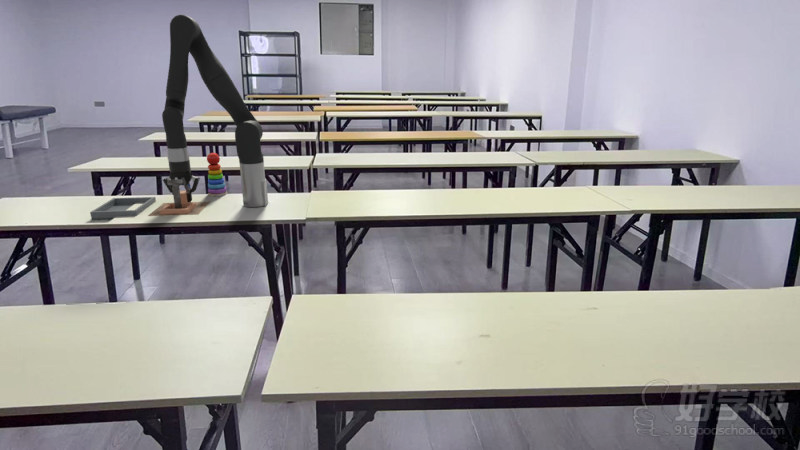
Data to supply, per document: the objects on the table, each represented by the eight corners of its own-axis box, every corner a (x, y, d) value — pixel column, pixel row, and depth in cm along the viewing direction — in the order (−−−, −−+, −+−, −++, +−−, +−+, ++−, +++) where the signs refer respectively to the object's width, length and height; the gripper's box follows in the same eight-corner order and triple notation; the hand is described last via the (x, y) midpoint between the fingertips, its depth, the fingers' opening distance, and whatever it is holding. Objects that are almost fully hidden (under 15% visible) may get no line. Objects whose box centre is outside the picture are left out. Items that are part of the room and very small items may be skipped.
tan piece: (199, 202, 206) (197, 190, 205) (188, 213, 192) (186, 200, 191) (173, 203, 205) (171, 191, 204) (160, 214, 191) (158, 200, 190)
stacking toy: (207, 195, 222) (202, 152, 217) (226, 193, 225) (222, 150, 220) (209, 199, 215) (203, 155, 210) (229, 197, 219) (224, 153, 213)
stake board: (210, 204, 208) (206, 173, 204) (198, 217, 191) (194, 183, 187) (164, 205, 206) (159, 174, 202) (147, 219, 189) (142, 184, 185)
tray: (156, 204, 209) (155, 196, 208) (137, 218, 190) (136, 210, 189) (114, 205, 207) (113, 198, 206) (91, 220, 188) (90, 212, 187)
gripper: (200, 157, 203) (205, 199, 208) (163, 157, 201) (169, 200, 207) (195, 160, 196) (200, 204, 201) (156, 161, 194) (163, 205, 200)
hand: (184, 202), depth 204 cm, fingers closed on tan piece, 3 cm apart
